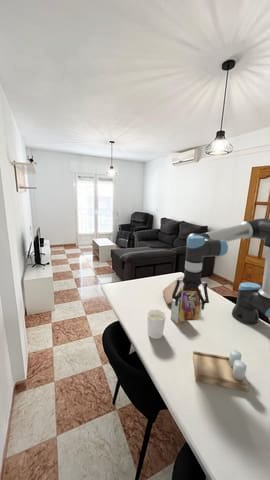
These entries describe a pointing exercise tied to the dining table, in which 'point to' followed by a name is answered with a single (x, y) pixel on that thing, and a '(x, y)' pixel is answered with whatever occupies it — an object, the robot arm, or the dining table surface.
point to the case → (171, 291)
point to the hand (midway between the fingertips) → (188, 313)
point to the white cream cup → (156, 323)
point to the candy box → (189, 305)
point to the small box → (175, 313)
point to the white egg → (234, 357)
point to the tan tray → (216, 371)
